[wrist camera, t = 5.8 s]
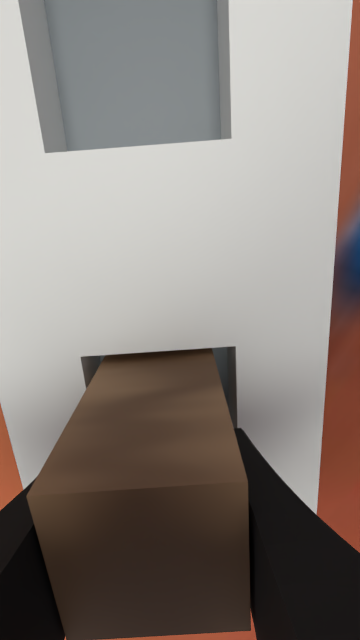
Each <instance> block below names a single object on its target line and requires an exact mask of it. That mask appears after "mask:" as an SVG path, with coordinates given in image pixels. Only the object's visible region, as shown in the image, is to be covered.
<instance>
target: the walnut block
mask: <svg viewBox="0 0 360 640" xmlns="http://www.w3.org/2000/svg"><path fill="white" fill-rule="evenodd" d="M26 497H27V500H28V504H29V508H30V511H31V515H32V518H33V522H34V525H35V529H36V533H37V536H38V540H39V543H40V547H41V550H42V554H43V558H44V561H45V565H46V568H47V572H48V575H49V579H50V583H51V586H52V590H53V593H54V597H55V600H56V604H57V608H58V611H59V615H60V618H61V622H62V625H63V629H64V633H65V636H66V640H98V639H115V638H132V637H149V636H166V635H184V634H201V633H218V632H235V631H251V616H250V563H249V511H248V480H247V476H246V472H245V469H244V465H243V461H242V458H241V454H240V450H239V447H238V443H237V439H236V435H235V432H234V428H233V424H232V421H231V417H230V413H229V410H228V406H227V402H226V399H225V395H224V391H223V388H222V384H221V380H220V377H219V373H218V369H217V365H216V362H215V358H214V354H213V351H212V348H202V349H187V350H172V351H158V352H143V353H128V354H113V355H105V357H104V359H103V360H102V362H101V364H100V366H99V368H98V369H97V371H96V373H95V375H94V376H93V378H92V380H91V382H90V384H89V385H88V387H87V389H86V391H85V392H84V394H83V396H82V398H81V400H80V401H79V403H78V405H77V407H76V409H75V410H74V412H73V414H72V416H71V417H70V419H69V421H68V423H67V425H66V426H65V428H64V430H63V432H62V433H61V435H60V437H59V439H58V441H57V442H56V444H55V446H54V448H53V450H52V451H51V453H50V455H49V457H48V458H47V460H46V462H45V464H44V466H43V467H42V469H41V471H40V473H39V474H38V476H37V478H36V480H35V482H34V483H33V485H32V487H31V489H30V491H29V492H28V494H27V496H26Z"/></svg>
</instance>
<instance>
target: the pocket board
mask: <svg viewBox="0 0 360 640" xmlns="http://www.w3.org/2000/svg"><path fill="white" fill-rule="evenodd" d="M352 2H353V0H0V403H1V407H2V411H3V414H4V418H5V422H6V426H7V429H8V433H9V437H10V441H11V445H12V448H13V452H14V456H15V460H16V463H17V467H18V471H19V475H20V478H21V482H22V486H23V490H24V489H25V488H26V487H27V486H28V485H29V484H30V483H31V482H32V481H33V480H34V479H35V478H36V477H37V476H38V474H39V473H40V471H41V469H42V467H43V466H44V464H45V462H46V460H47V458H48V457H49V455H50V453H51V451H52V450H53V448H54V446H55V444H56V442H57V441H58V439H59V437H60V435H61V433H62V432H63V430H64V428H65V426H66V425H67V423H68V421H69V419H70V417H71V416H72V414H73V412H74V410H75V409H76V407H77V405H78V403H79V401H80V400H81V398H82V396H83V394H84V392H85V391H86V389H87V387H88V385H89V384H90V382H91V380H92V378H93V376H94V375H95V373H96V371H97V369H98V368H99V366H100V364H101V362H102V360H103V359H104V357H105V355H113V354H128V353H143V352H158V351H172V350H187V349H202V348H212V351H213V354H214V358H215V362H216V365H217V369H218V373H219V377H220V380H221V384H222V388H223V391H224V395H225V399H226V402H227V406H228V410H229V413H230V417H231V421H232V424H233V428H241V429H242V430H244V432H245V433H246V435H247V436H248V437H249V439H250V440H251V442H252V443H253V444H254V446H255V447H256V448H257V450H258V451H259V452H260V453H261V455H262V456H263V457H264V459H265V460H266V461H267V462H268V463H269V465H270V466H271V467H272V468H273V469H274V470H275V472H276V473H277V474H278V475H279V476H280V477H281V478H282V480H283V481H284V482H285V483H286V484H287V485H288V486H289V487H290V488H291V489H292V491H293V492H294V493H295V494H296V495H297V496H298V497H299V498H300V499H301V500H302V501H303V502H304V503H305V504H306V505H307V506H308V507H309V508H310V509H311V510H312V511H313V512H314V513H315V514H316V515H317V501H318V487H319V472H320V458H321V444H322V430H323V415H324V401H325V387H326V373H327V358H328V344H329V330H330V316H331V301H332V287H333V273H334V259H335V244H336V230H337V216H338V201H339V187H340V173H341V159H342V144H343V130H344V116H345V102H346V87H347V73H348V59H349V45H350V30H351V16H352Z"/></svg>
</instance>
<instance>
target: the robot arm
mask: <svg viewBox="0 0 360 640" xmlns="http://www.w3.org/2000/svg"><path fill="white" fill-rule="evenodd" d="M234 432H235V435H236V439H237V443H238V447H239V450H240V454H241V458H242V461H243V465H244V469H245V472H246V476H247V480H248V511H249V563H250V608H251V613H252V618H253V622H254V627H255V632H256V638H257V640H360V553H359V552H358V551H357V550H355V549H354V548H353V547H352V546H351V545H350V544H348V543H347V542H346V541H345V540H344V539H343V538H341V537H340V536H339V535H338V534H337V533H336V532H335V531H334V530H332V529H331V528H330V527H329V526H328V525H327V524H326V523H325V522H324V521H323V520H321V519H320V518H319V517H318V516H317V515H316V514H315V513H314V512H313V511H312V510H311V509H310V508H309V507H308V506H307V505H306V504H305V503H304V502H303V501H302V500H301V499H300V498H299V497H298V496H297V495H296V494H295V493H294V492H293V491H292V489H291V488H290V487H289V486H288V485H287V484H286V483H285V482H284V481H283V480H282V478H281V477H280V476H279V475H278V474H277V473H276V472H275V470H274V469H273V468H272V467H271V466H270V465H269V463H268V462H267V461H266V460H265V459H264V457H263V456H262V455H261V453H260V452H259V451H258V450H257V448H256V447H255V446H254V444H253V443H252V442H251V440H250V439H249V437H248V436H247V435H246V433H245V432H244V430H242V429H241V428H234ZM36 478H37V477H36ZM36 478H35V479H34V480H33V481H32V482H31V483H30V484H29V485H28V486H27V487H26V488H25V489H24V490H23V491H22V492H21V493H20V494H18V495H17V496H16V497H15V498H14V499H13V500H12V501H11V502H10V503H9V504H7V505H6V506H5V507H4V508H3V509H2V510H1V511H0V640H64V639H65V633H64V629H63V625H62V622H61V618H60V615H59V611H58V608H57V604H56V600H55V597H54V593H53V590H52V586H51V583H50V579H49V575H48V572H47V568H46V565H45V561H44V558H43V554H42V550H41V547H40V543H39V540H38V536H37V533H36V529H35V525H34V522H33V518H32V515H31V511H30V508H29V504H28V500H27V497H26V496H27V494H28V492H29V491H30V489H31V487H32V485H33V483H34V482H35V480H36Z"/></svg>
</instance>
